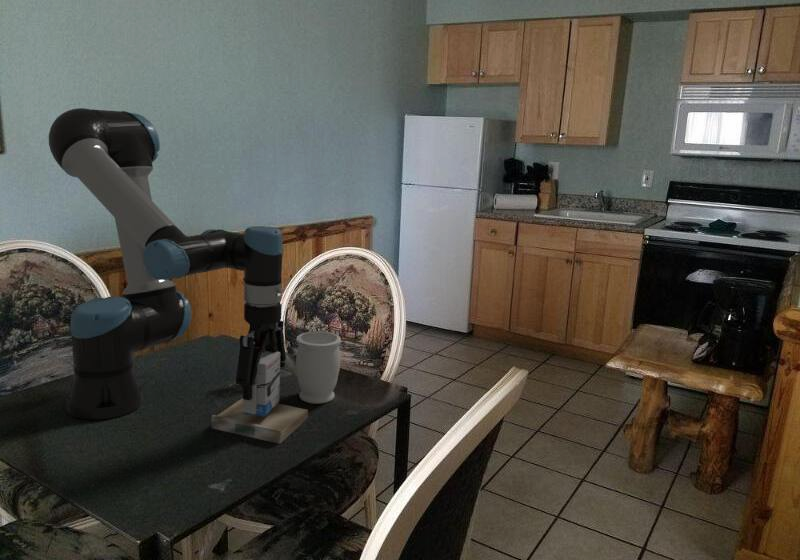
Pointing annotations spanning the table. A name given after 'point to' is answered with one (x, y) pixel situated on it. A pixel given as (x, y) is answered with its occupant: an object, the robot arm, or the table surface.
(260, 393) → the ink box
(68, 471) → the table surface
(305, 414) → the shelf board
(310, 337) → the jar
